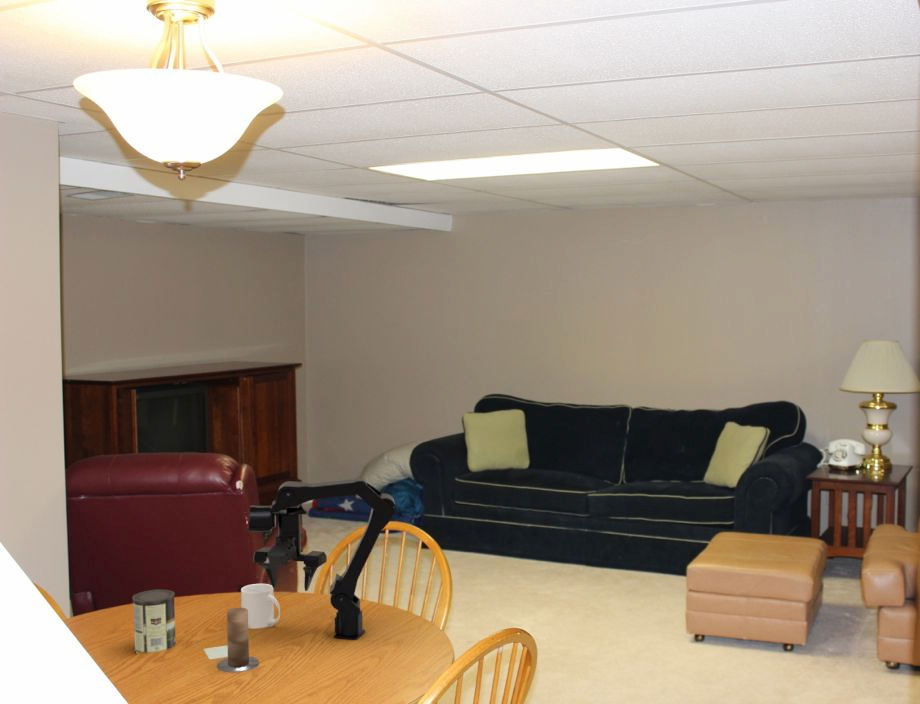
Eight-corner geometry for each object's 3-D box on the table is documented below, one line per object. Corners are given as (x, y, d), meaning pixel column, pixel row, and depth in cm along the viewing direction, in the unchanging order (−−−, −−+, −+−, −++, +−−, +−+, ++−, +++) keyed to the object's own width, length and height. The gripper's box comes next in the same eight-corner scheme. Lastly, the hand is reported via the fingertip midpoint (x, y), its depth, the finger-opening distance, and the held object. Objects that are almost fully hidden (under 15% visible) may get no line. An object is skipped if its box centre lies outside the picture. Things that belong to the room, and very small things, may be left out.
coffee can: (162, 639, 266) (161, 586, 265) (183, 648, 259) (182, 594, 258) (126, 649, 259) (124, 595, 258) (147, 659, 252) (145, 604, 251)
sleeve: (250, 659, 248) (249, 607, 247) (246, 667, 243) (245, 614, 242) (230, 659, 248) (229, 607, 247) (226, 667, 243) (224, 614, 242)
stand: (235, 647, 259) (235, 644, 259) (242, 658, 252) (242, 654, 252) (203, 652, 256) (203, 649, 256) (209, 663, 249) (209, 659, 249)
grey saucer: (266, 663, 249) (266, 658, 249) (246, 678, 239) (246, 673, 239) (230, 659, 252) (230, 654, 251) (209, 673, 242) (209, 669, 242)
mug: (269, 636, 268) (268, 596, 267) (235, 629, 274) (234, 590, 273) (290, 626, 275) (289, 587, 274) (256, 619, 281) (255, 581, 280)
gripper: (242, 535, 260) (243, 595, 261) (308, 540, 254) (309, 601, 255) (262, 525, 270) (264, 583, 271) (327, 530, 265) (328, 588, 266)
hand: (290, 589), depth 266 cm, fingers open, 9 cm apart
